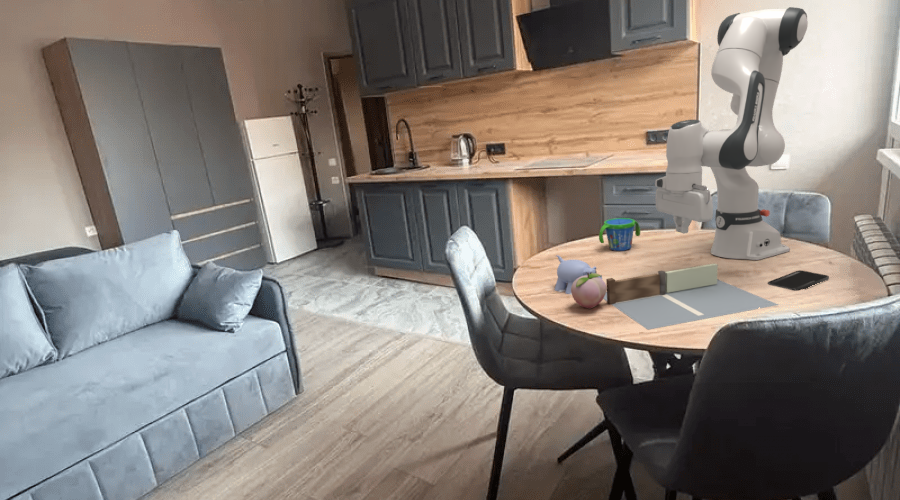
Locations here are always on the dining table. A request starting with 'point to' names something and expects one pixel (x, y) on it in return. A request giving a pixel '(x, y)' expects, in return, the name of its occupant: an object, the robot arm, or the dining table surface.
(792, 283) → the phone
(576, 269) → the hippopotamus toy
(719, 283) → the board
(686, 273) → the fence gate
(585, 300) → the decorative fruit
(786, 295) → the dining table surface
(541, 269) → the dining table surface
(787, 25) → the robot arm
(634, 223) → the snack cup
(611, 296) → the fence fixed
